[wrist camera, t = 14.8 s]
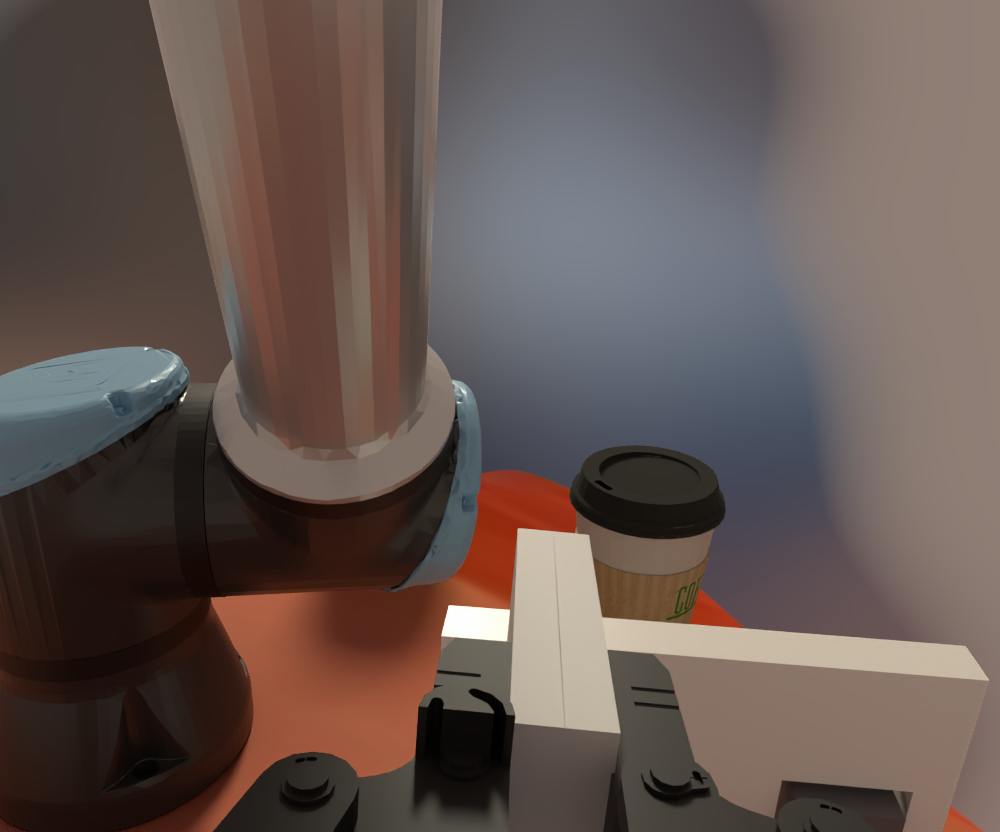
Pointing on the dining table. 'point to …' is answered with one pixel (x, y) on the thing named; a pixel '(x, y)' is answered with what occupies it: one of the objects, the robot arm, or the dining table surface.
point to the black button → (850, 802)
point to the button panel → (804, 707)
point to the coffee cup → (647, 529)
